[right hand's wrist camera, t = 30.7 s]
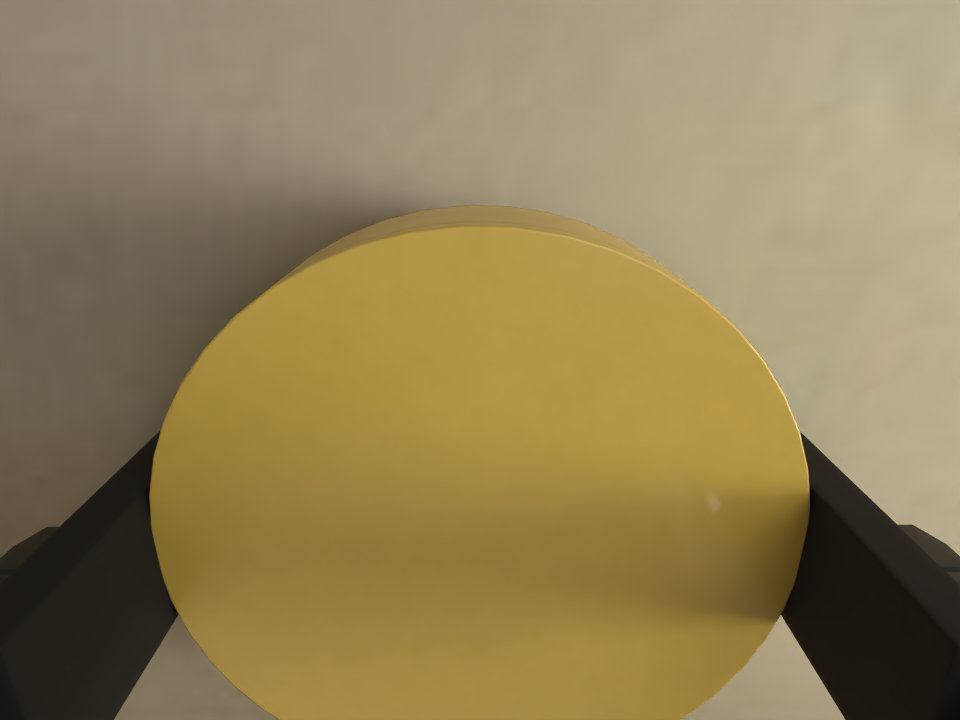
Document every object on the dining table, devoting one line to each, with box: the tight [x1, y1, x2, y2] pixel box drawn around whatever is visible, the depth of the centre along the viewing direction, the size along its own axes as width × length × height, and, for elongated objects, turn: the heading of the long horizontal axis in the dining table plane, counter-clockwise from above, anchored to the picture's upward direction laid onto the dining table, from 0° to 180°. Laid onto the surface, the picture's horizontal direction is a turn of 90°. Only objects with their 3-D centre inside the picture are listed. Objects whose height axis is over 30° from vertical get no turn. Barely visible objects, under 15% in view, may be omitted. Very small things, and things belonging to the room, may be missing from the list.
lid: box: [149, 205, 810, 720], centre depth 11 cm, size 11×11×2 cm
